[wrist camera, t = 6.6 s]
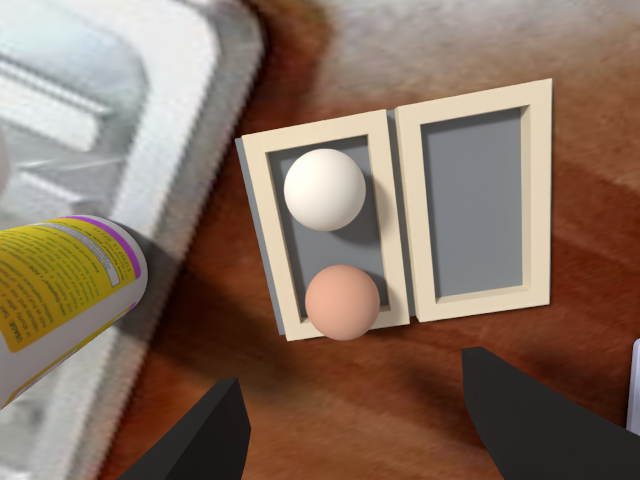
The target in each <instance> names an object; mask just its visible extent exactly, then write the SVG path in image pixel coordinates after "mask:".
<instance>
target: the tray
mask: <svg viewBox="0 0 640 480" xmlns="http://www.w3.org/2000/svg"><path fill="white" fill-rule="evenodd" d="M552 102H553V80H552V78H551V79H545V80H540V81H534V82H529V83H524V84H518V85H513V86H507V87H502V88H497V89H491V90H486V91H481V92H475V93H470V94H464V95H459V96H454V97H448V98H443V99H437V100H432V101H427V102H421V103H416V104H410V105H405V106H400V107H397V108H396V109H394V110H389V111H386V109H384V110H378V111H373V112H367V113H362V114H357V115H351V116H346V117H340V118H335V119H330V120H324V121H319V122H314V123H308V124H303V125H297V126H292V127H287V128H281V129H276V130H270V131H265V132H260V133H254V134H249V135H243V136H242V138H238V139H235V142H236V146H237V151H238V155H239V159H240V164H241V168H242V173H243V177H244V181H245V186H246V190H247V195H248V199H249V203H250V208H251V212H252V216H253V221H254V225H255V230H256V234H257V238H258V243H259V247H260V252H261V256H262V260H263V265H264V269H265V273H266V278H267V282H268V287H269V291H270V295H271V300H272V304H273V309H274V313H275V317H276V322H277V326H278V331H279V335H284V334H286V338H287V341H291V340H298V339H305V338H312V337H319V336H325V335H323V334H322V333H320V332H319V331H318V330H317V329H316V328H315V327H314V326H313V324H312V323H311V321H310V319H309V317H308V315H307V311H306V306H305V299H306V292H307V289H308V286H309V284H310V283H311V281H312V280H313V278H314V277H315V276H316V275H317V274H318V273H319V272H321V271H322V270H323V269H325V268H327V267H330V266H333V265H340V264H345V265H351V266H354V267H357V268H359V269H361V270H362V271H364V272H365V273H366V274H367V275H369V276H370V278H371V279H372V280H373V282H374V283H375V285H376V287H377V289H378V293H379V298H380V308H379V313H378V316H377V319H376V321H375V322H374V324H373V325H372V327H371V328H370V329H376V328H383V327H390V326H397V325H404V324H410V322H409V317H410V316H417V318H418V320H419V322H425V321H432V320H439V319H446V318H454V317H461V316H468V315H475V314H482V313H489V312H496V311H503V310H510V309H517V308H524V307H531V306H538V305H545V304H549V297H550V275H551V188H552ZM317 149H333V150H337V151H340V152H342V153H344V154H346V155H347V156H349V157H350V158H351V159H352V160H354V162H355V163H356V164H357V165H358V167H359V168H360V170H361V172H362V174H363V177H364V180H365V186H366V193H365V200H364V203H363V206H362V208H361V210H360V212H359V213H358V215H357V216H356V217H355V218H354V219H353V220H352V221H351V222H350V223H349V224H347V225H346V226H344V227H342V228H340V229H337V230H332V231H317V230H313V229H310V228H308V227H306V226H304V225H302V224H301V223H300V222H298V221H297V220H296V219H295V218H294V216H293V215H292V214H291V212H290V211H289V209H288V207H287V204H286V201H285V196H284V184H285V179H286V176H287V174H288V171H289V170H290V168H291V166H292V165H293V164H294V162H295V161H296V160H297V159H299V158H300V157H301V156H303V155H304V154H306V153H308V152H310V151H313V150H317Z"/></svg>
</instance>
